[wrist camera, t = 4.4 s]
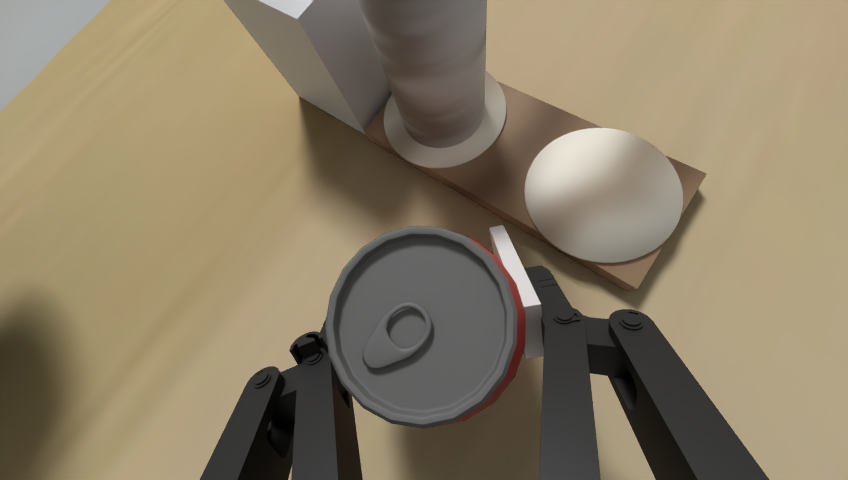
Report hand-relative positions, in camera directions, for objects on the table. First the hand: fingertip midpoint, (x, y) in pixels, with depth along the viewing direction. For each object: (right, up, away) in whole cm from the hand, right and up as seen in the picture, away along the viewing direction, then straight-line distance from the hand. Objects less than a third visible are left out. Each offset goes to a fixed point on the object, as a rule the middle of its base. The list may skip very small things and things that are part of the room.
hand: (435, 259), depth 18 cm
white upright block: (-6, +15, +9) cm, 18 cm away
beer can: (+1, -4, +2) cm, 5 cm away
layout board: (+6, +7, +5) cm, 10 cm away
